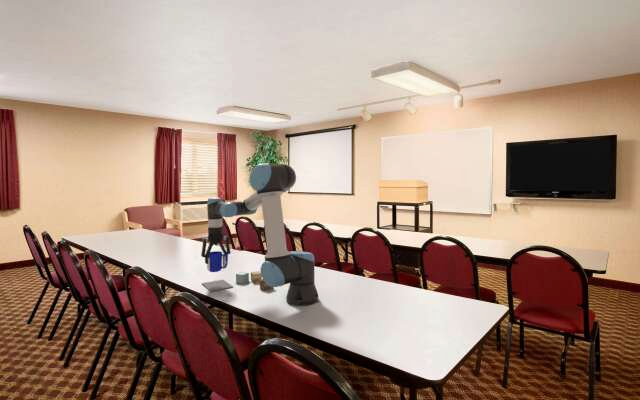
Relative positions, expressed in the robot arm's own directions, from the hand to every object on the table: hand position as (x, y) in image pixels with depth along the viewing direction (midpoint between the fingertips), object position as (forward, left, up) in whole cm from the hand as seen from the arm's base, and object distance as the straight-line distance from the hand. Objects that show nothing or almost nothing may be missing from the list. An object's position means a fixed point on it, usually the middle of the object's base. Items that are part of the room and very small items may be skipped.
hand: (216, 268), depth 194 cm
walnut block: (-20, -20, -10) cm, 30 cm away
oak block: (-4, -21, -10) cm, 24 cm away
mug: (0, -1, -2) cm, 2 cm away
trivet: (0, 0, -10) cm, 10 cm away
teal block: (-1, -14, -10) cm, 17 cm away
